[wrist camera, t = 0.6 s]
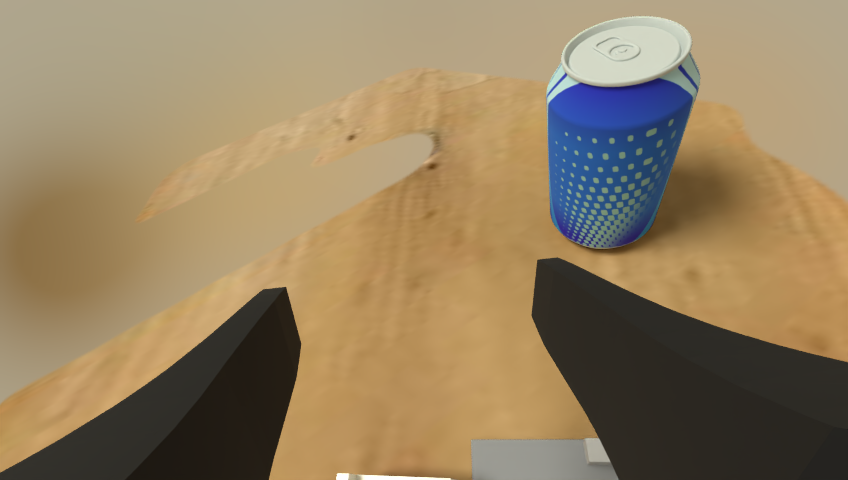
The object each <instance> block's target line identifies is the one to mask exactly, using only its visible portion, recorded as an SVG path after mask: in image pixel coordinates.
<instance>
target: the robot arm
mask: <svg viewBox="0 0 848 480" xmlns="http://www.w3.org/2000/svg"><path fill="white" fill-rule="evenodd" d="M532 318H533V320H534V323H535V325H536V328H537V330H538V332H539V335H540V337H541V339H542V341H543V343H544V345H545V347H546V349H547V351H548V352H549V354H550V356H551V357H552V359H553V361H554V362H555V364H556V366H557V367H558V369H559V371H560V372H561V374H562V375H563V377H564V379H565V380H566V382H567V384H568V385H569V387H570V388H571V390H572V392H573V393H574V395H575V397H576V398H577V400H578V401H579V403H580V405H581V406H582V408H583V410H584V411H585V413H586V415H587V417H588V418H589V420H590V422H591V424H592V425H593V427H594V429H595V431H596V433H597V435H598V437H599V439H600V441H601V443H602V445H603V448H604V450H605V452H606V454H607V456H608V458H609V460H610V462H611V464H612V466H613V468H614V470H615V473H616V475H617V477H618V479H619V480H848V362H844V361H840V360H835V359H831V358H827V357H823V356H819V355H814V354H810V353H806V352H802V351H798V350H795V349H791V348H787V347H783V346H779V345H776V344H772V343H769V342H765V341H762V340H759V339H755V338H752V337H749V336H745V335H742V334H739V333H735V332H732V331H729V330H726V329H723V328H720V327H717V326H714V325H711V324H708V323H706V322H703V321H700V320H697V319H695V318H692V317H689V316H686V315H684V314H681V313H678V312H676V311H673V310H671V309H668V308H666V307H664V306H661V305H659V304H657V303H654V302H652V301H650V300H647V299H645V298H643V297H640V296H638V295H636V294H634V293H632V292H630V291H627V290H625V289H623V288H621V287H619V286H617V285H615V284H613V283H611V282H609V281H607V280H605V279H602V278H600V277H598V276H596V275H594V274H592V273H590V272H588V271H586V270H584V269H582V268H580V267H578V266H576V265H574V264H572V263H570V262H567V261H565V260H562V259H560V258H549V259H540V260H537V269H536V278H535V288H534V298H533V307H532ZM300 349H301V341H300V338H299V334H298V330H297V326H296V323H295V319H294V315H293V311H292V308H291V304H290V300H289V296H288V293H287V289H286V287H282V288H273V289H263V290H262V291H261V292H259V293H258V294H257V295H256V296H254V297H253V298H252V299H251V300H250V301H249V302H247V303H246V304H245V305H244V306H243V307H242V308H241V309H239V310H238V311H237V312H236V313H235V314H234V315H233V316H232V317H230V318H229V319H228V320H227V321H226V322H225V323H223V324H222V325H221V326H220V327H219V328H218V329H217V330H215V331H214V332H213V333H212V334H211V335H210V336H208V337H207V338H206V339H205V340H203V341H202V342H201V343H200V344H198V345H197V346H196V347H195V348H193V349H192V350H191V351H190V352H188V353H187V354H186V355H185V356H183V357H182V358H181V359H180V360H178V361H177V362H176V363H175V364H173V365H172V366H171V367H170V368H168V369H167V370H166V371H164V372H163V373H161V374H160V375H159V376H157V377H156V378H155V379H153V380H152V381H150V382H149V383H148V384H146V385H145V386H143V387H142V388H140V389H139V390H137V391H136V392H134V393H133V394H132V395H130V396H129V397H127V398H126V399H124V400H123V401H121V402H120V403H118V404H117V405H115V406H114V407H112V408H110V409H109V410H107V411H105V412H104V413H102V414H100V415H99V416H97V417H96V418H94V419H92V420H91V421H89V422H87V423H86V424H84V425H83V426H81V427H79V428H78V429H76V430H74V431H73V432H71V433H70V434H68V435H66V436H65V437H63V438H61V439H60V440H58V441H56V442H55V443H53V444H51V445H49V446H48V447H46V448H44V449H42V450H41V451H39V452H37V453H35V454H33V455H32V456H30V457H28V458H26V459H25V460H23V461H21V462H19V463H17V464H15V465H14V466H12V467H10V468H8V469H6V470H4V471H2V472H1V473H0V480H269V476H270V472H271V468H272V464H273V459H274V456H275V452H276V449H277V445H278V442H279V438H280V435H281V431H282V428H283V424H284V421H285V417H286V414H287V410H288V407H289V403H290V399H291V396H292V392H293V388H294V385H295V381H296V377H297V371H298V364H299V357H300Z"/></svg>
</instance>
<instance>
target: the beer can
mask: <svg viewBox="0 0 848 480" xmlns="http://www.w3.org/2000/svg"><path fill="white" fill-rule="evenodd" d="M691 47H692V38H691V35H690V34H689V32H688V31H687V29H686V28H684V27H683V26H682V25H680V24H678V23H676V22H674V21H671V20H668V19H664V18H659V17H651V16H635V17H625V18H619V19H614V20H609V21H606V22H603V23H600V24H597V25H595V26H592V27H590V28H588V29H586V30H584V31H582V32H581V33H580V34H578V35H576V36H575V37H574V38H573V39H572V40H571V41H569V43H568V44H567V45H566V46H565V48H564V50H563V52H562V56H561V63H560V65H559V67H558V68H557V70H556V71H555V73H554V74H553V76H552V78H551V80H550V82H549V85H548V87H547V94H546V100H547V130H548V160H549V189H550V214H551V218H552V221H553V223H554V225H555V226H556V228H557V229H558V230H559V231H560V233H562V234H563V235H564V236H565V237H567V238H568V239H570V240H571V241H573V242H575V243H578V244H580V245H582V246H586V247H589V248H595V249H609V248H615V247H620V246H624V245H627V244H630V243H632V242H634V241H636V240H638V239H639V238H641V237H642V236H643V235H645V234H646V233H647V232H648V230H649V229H650V228H651V226H652V225H653V223H654V220H655V217H656V214H657V211H658V208H659V205H660V203H661V200H662V197H663V194H664V191H665V188H666V185H667V182H668V179H669V176H670V173H671V170H672V167H673V164H674V161H675V158H676V155H677V152H678V149H679V146H680V143H681V140H682V137H683V134H684V131H685V128H686V125H687V122H688V119H689V116H690V114H691V111H692V108H693V105H694V102H695V99H696V96H697V93H698V89H699V85H700V74H699V70H698V67H697V65H696V63H695V61H694V59H693V57H692V55H691V52H690V51H691Z"/></svg>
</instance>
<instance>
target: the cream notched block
mask: <svg viewBox="0 0 848 480" xmlns="http://www.w3.org/2000/svg"><path fill="white" fill-rule="evenodd" d="M336 480H456V479H451V478H427V477H401V476H376V475H355V474H342V473H337V479H336Z"/></svg>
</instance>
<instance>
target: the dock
mask: <svg viewBox="0 0 848 480" xmlns="http://www.w3.org/2000/svg"><path fill="white" fill-rule="evenodd" d="M471 450H472V480H619V479H618V477H617V475H616V473H615V470H614V468H613V466H612V464H611V462H610V460H609V458H608V456H607V454H606V452H605V450H604V448H603V445H602V443H601V441H600V439H599V438H585V440H471Z"/></svg>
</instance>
